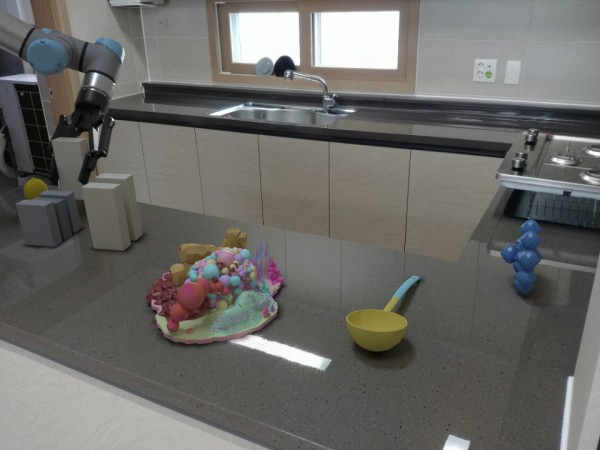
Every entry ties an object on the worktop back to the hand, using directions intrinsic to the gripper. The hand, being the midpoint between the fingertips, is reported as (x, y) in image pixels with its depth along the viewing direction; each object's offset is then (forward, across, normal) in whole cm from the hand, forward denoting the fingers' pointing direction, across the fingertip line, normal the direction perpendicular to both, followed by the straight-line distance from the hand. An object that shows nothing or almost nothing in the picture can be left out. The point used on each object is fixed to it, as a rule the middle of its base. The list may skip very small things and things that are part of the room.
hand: (67, 181), depth 122 cm
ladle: (+26, -76, +12) cm, 81 cm away
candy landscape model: (+26, -46, +12) cm, 54 cm away
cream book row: (+13, -16, -1) cm, 21 cm away
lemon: (+2, +15, -12) cm, 19 cm away
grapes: (+16, -96, +3) cm, 97 cm away
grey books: (+13, 0, -1) cm, 13 cm away
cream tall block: (+1, 0, -6) cm, 6 cm away
